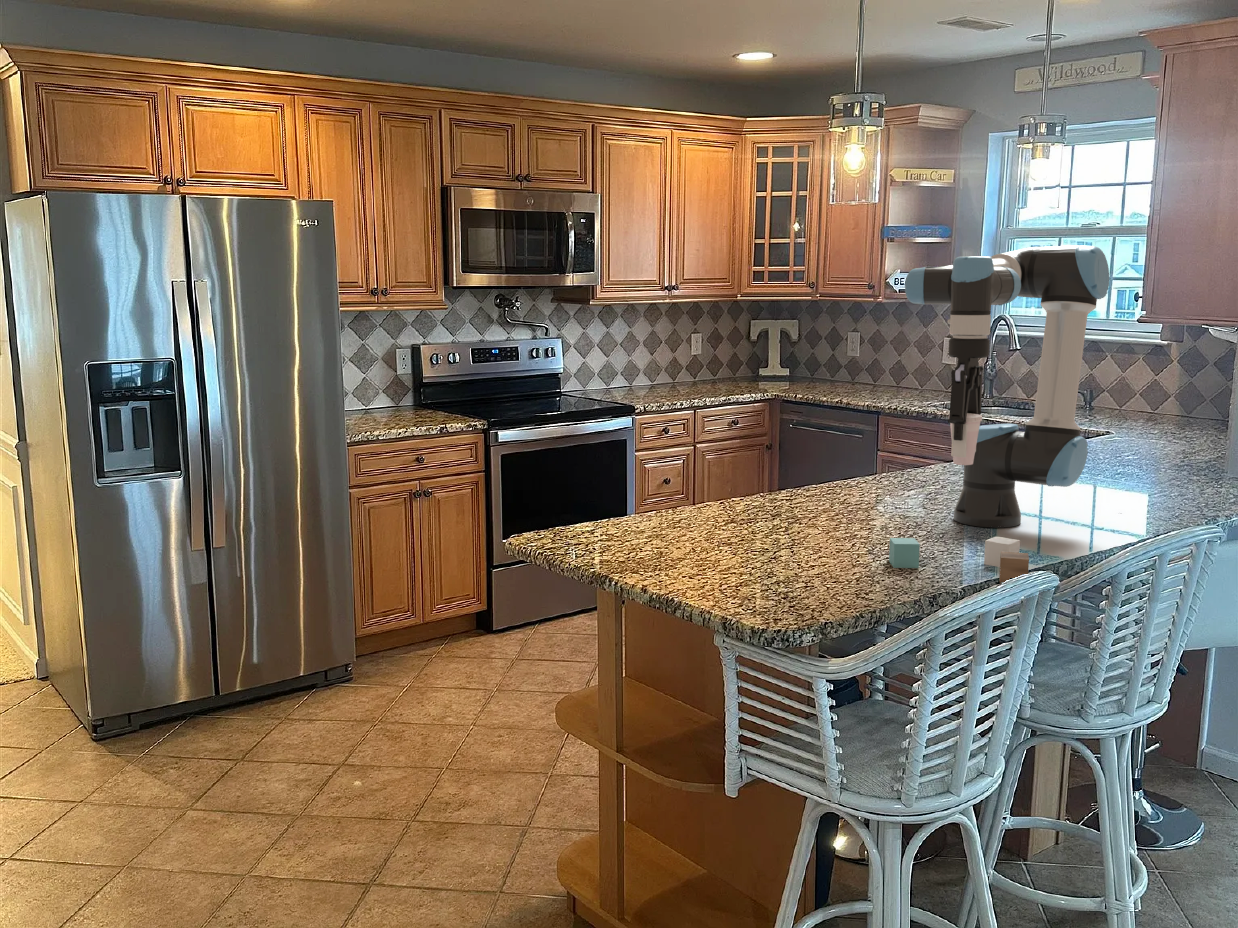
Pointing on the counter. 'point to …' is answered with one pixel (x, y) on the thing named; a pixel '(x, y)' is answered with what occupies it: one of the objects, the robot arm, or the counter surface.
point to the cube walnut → (1013, 565)
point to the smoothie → (969, 439)
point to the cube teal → (904, 553)
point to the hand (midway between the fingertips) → (963, 453)
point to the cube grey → (999, 549)
